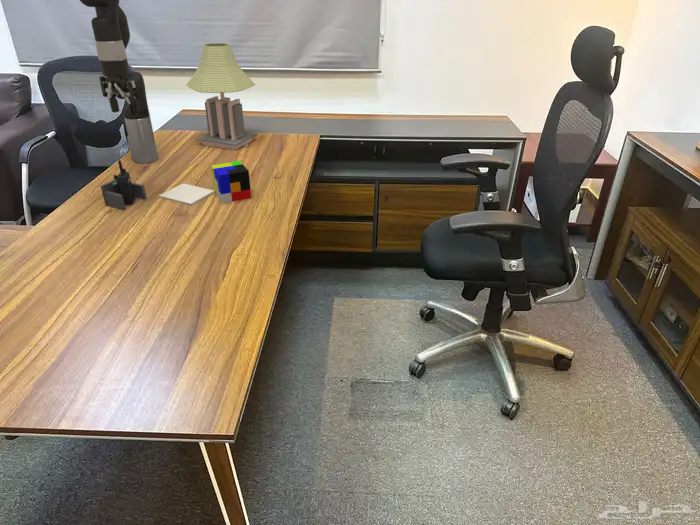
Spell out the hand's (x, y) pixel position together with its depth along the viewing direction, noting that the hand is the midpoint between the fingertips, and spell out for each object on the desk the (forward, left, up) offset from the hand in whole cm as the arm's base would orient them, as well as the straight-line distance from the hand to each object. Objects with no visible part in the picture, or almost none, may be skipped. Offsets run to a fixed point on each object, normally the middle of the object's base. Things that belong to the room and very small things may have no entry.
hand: (125, 114), depth 150 cm
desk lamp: (-13, +62, -29) cm, 69 cm away
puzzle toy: (+24, +17, -29) cm, 41 cm away
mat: (+10, +10, -29) cm, 32 cm away
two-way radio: (-3, -4, -29) cm, 29 cm away
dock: (-3, -4, -29) cm, 29 cm away
